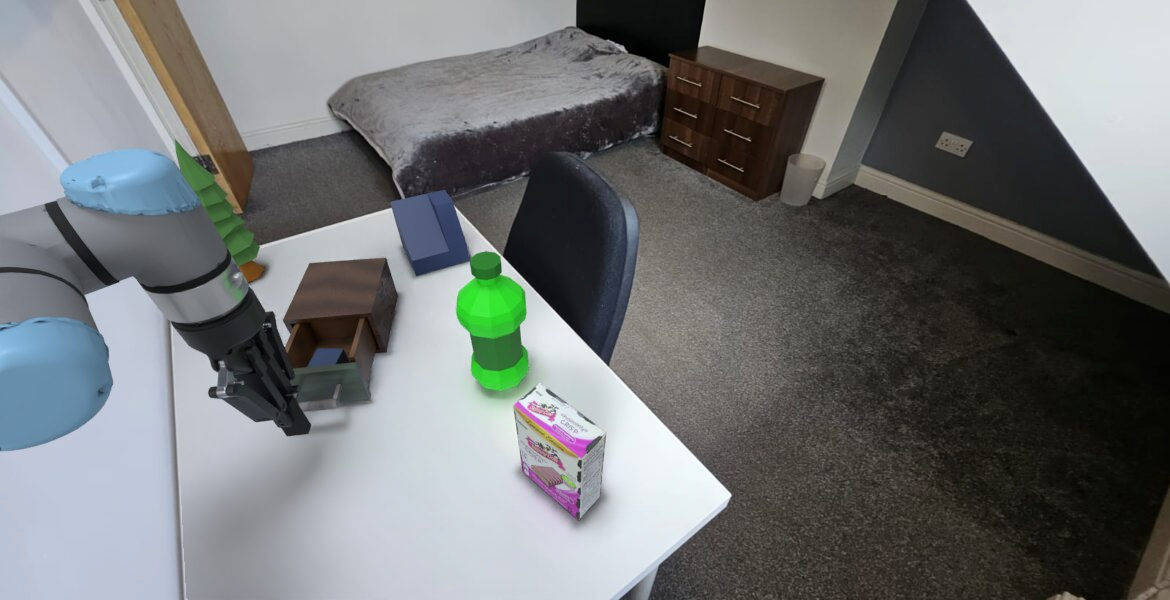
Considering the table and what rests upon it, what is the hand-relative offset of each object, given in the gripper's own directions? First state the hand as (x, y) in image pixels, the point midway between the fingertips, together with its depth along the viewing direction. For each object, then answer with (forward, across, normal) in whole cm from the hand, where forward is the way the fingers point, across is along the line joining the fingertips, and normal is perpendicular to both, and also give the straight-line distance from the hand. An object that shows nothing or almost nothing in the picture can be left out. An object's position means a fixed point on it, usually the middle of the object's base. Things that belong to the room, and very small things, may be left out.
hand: (299, 430), depth 64 cm
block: (+5, +14, 0) cm, 15 cm away
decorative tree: (+7, +47, +26) cm, 54 cm away
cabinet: (+7, +28, 0) cm, 29 cm away
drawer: (+6, +14, 0) cm, 15 cm away
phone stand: (+8, +50, -13) cm, 52 cm away
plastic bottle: (+7, +11, -27) cm, 30 cm away
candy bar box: (+7, -10, -35) cm, 37 cm away
